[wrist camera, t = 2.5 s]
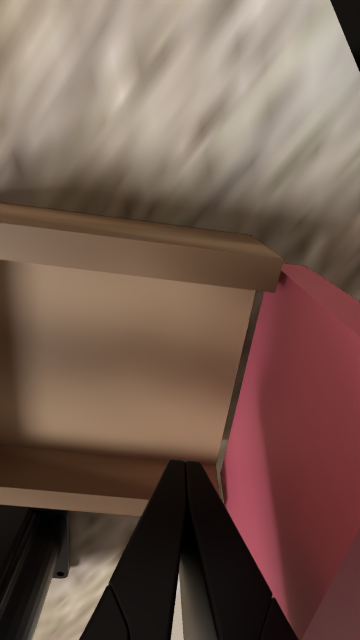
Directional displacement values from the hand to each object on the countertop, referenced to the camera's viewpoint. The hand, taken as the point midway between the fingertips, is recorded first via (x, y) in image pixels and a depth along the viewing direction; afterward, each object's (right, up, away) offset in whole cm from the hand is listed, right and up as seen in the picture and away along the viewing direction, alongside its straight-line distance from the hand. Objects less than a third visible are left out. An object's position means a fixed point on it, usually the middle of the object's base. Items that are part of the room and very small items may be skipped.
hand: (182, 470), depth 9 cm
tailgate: (+2, +1, +4) cm, 5 cm away
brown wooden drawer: (-4, +3, +6) cm, 8 cm away
